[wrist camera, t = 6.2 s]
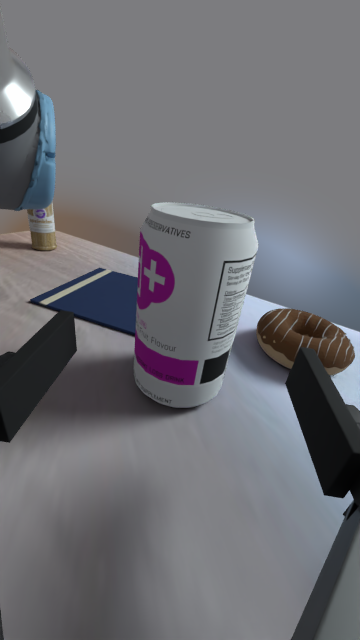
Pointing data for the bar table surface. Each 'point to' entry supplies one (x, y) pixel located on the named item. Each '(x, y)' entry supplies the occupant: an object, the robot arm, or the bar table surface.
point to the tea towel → (97, 299)
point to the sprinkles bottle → (42, 228)
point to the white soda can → (189, 299)
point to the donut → (304, 339)
